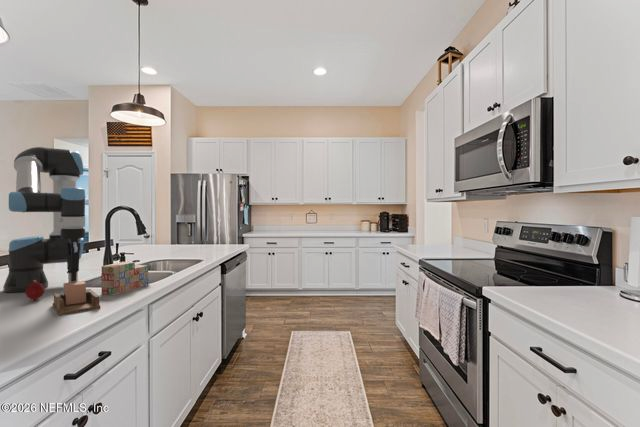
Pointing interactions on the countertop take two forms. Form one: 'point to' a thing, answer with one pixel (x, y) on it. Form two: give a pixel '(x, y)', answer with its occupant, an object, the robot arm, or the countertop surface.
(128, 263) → the stack of blocks
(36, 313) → the countertop surface
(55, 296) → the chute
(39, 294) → the onion
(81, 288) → the block
